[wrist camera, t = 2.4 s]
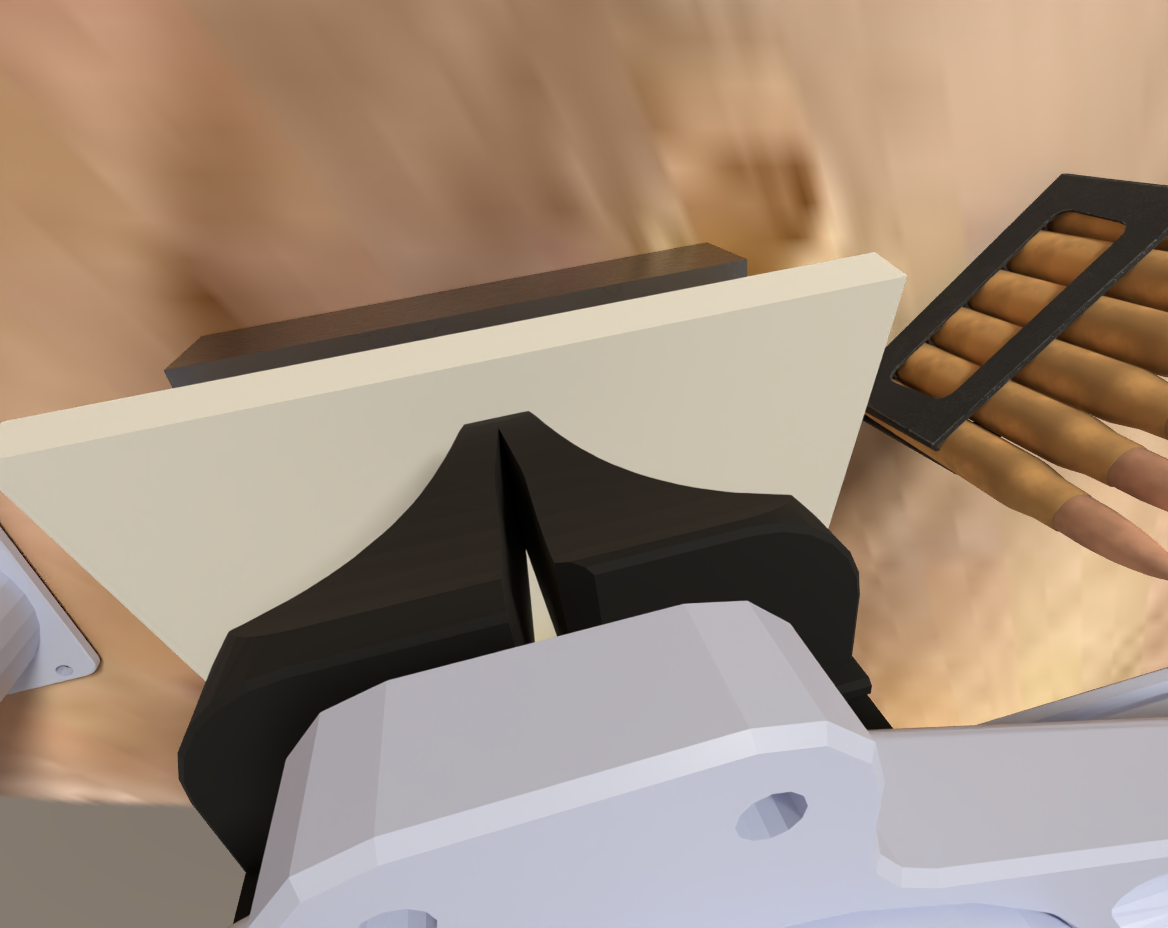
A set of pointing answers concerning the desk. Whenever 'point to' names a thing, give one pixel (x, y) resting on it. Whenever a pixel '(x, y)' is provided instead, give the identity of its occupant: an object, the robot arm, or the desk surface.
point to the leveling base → (450, 312)
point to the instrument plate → (446, 436)
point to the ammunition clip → (1048, 364)
